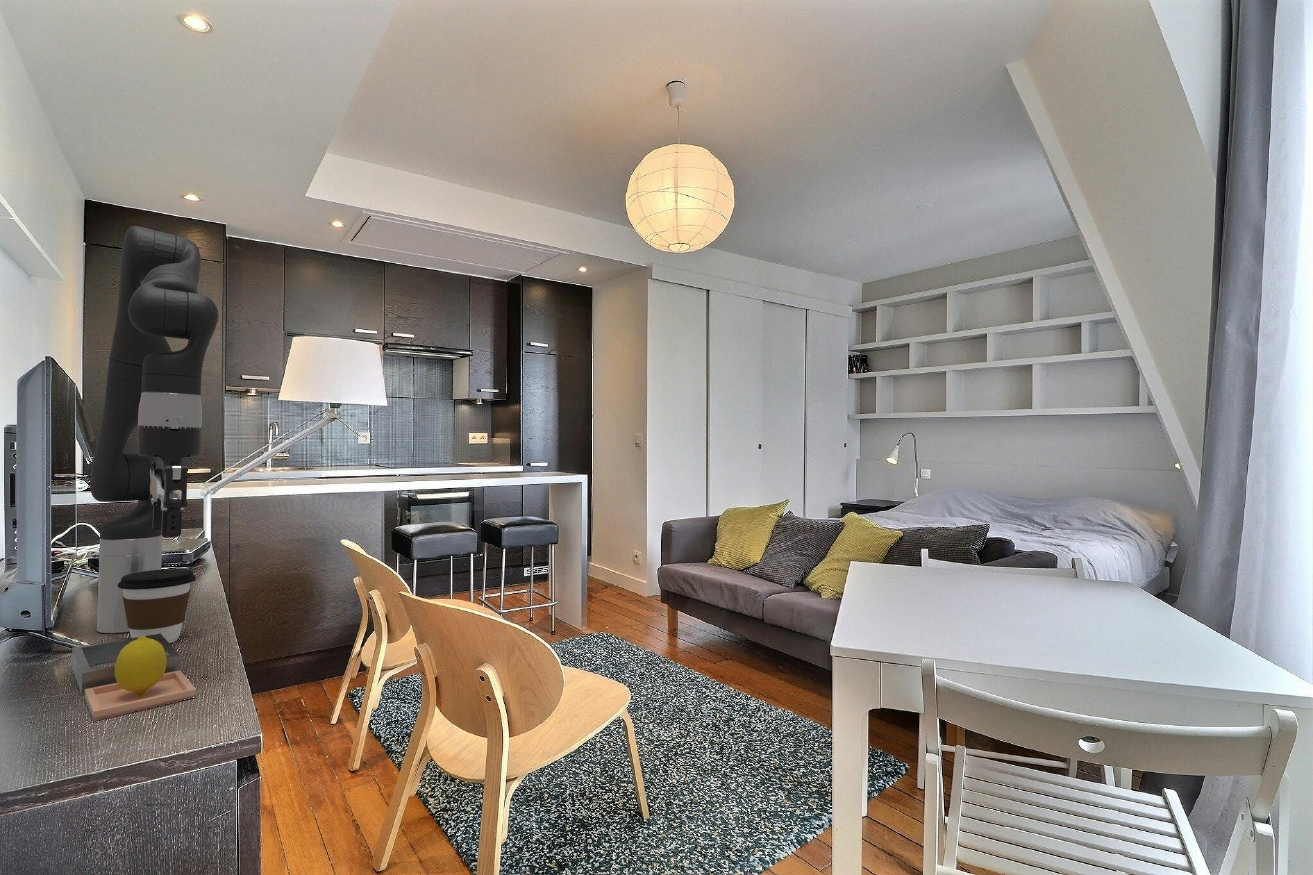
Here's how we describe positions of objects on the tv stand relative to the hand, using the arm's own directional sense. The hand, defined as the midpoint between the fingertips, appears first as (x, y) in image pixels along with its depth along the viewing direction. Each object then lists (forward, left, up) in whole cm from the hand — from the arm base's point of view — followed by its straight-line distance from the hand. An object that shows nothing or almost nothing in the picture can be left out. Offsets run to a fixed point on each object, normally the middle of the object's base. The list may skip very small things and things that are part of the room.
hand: (166, 533), depth 94 cm
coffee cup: (-24, +3, -22) cm, 32 cm away
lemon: (+6, -3, -22) cm, 23 cm away
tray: (+6, -3, -22) cm, 23 cm away
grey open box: (-9, -3, -22) cm, 24 cm away
